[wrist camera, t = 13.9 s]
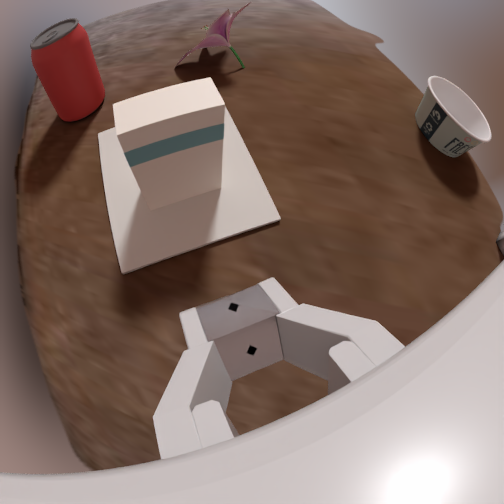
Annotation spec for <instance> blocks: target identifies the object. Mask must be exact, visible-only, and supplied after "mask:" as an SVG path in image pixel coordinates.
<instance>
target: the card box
mask: <svg viewBox="0 0 504 504" xmlns="http://www.w3.org/2000/svg"><path fill="white" fill-rule="evenodd" d="M113 110H114V119H115V127H116V134H117V137H118V140H119V142H120V145H121V147H122V149H123V152H124V155H125V157H126V160H127V162H128V164H129V167H130V168H131V170H132V173H133V175H134V177H135V179H136V181H137V184H138V186H139V188H140V190H141V192H142V195H143V197H144V199H145V201H146V203H147V205H148V207H149V209H150V211H152V210H155V209H157V208H160V207H163V206H166V205H169V204H172V203H175V202H178V201H181V200H184V199H187V198H190V197H194V196H197V195H200V194H203V193H206V192H209V191H213V190H216V189H219V188H221V185H222V158H223V139H224V115H225V103H224V101H223V99H222V97H221V96H220V94H219V92H218V90H217V88H216V86H215V84H214V83H213V81H212V79H211V77H209V78H204V79H199V80H194V81H190V82H186V83H182V84H177V85H174V86H170V87H166V88H162V89H159V90H155V91H152V92H148V93H145V94H142V95H139V96H135V97H132V98H129V99H126V100H124V101H121V102H118V103H115V104H113Z"/></svg>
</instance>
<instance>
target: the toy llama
mask: <svg viewBox="0 0 504 504" xmlns="http://www.w3.org/2000/svg"><path fill="white" fill-rule="evenodd" d="M496 243H497V244H498V246H499V248H500V250H501V252H502V254H503V256H504V231H502V232H500V234H499V236H498V238H497V241H496Z"/></svg>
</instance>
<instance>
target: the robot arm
mask: <svg viewBox="0 0 504 504" xmlns="http://www.w3.org/2000/svg"><path fill="white" fill-rule="evenodd" d="M196 309H197V310H196ZM179 316H180V320H181V324H182V328H183V331H184V335H185V339H186V342H187V346H188V350H186V351H184V352H183V354H182V356H181V358H180V360H179V362H178V364H177V367H176V369H175V371H174V373H173V375H172V377H171V379H170V381H169V384H168V386H167V388H166V390H165V392H164V394H163V396H162V399H161V401H160V403H159V405H158V407H157V409H156V411H155V414H154V416H153V420H154V426H155V431H156V436H157V441H158V446H159V451H160V456H161V460H156V461H152V462H147V463H142V464H137V465H132V466H126V467H120V468H114V469H107V470H99V471H90V472H80V473H65V474H14V473H2V472H0V504H504V260H503V261H502V262H501V263H500V264H499V265H498V266H497V267H496V269H495V270H494V271H493V272H492V273H491V274H490V275H489V276H488V277H487V278H486V279H485V280H484V281H483V282H482V283H481V284H480V285H479V286H478V287H477V288H476V289H475V290H474V291H472V292H471V293H470V294H469V295H468V296H467V297H466V298H465V299H464V300H463V301H462V302H461V303H459V304H458V305H457V306H456V307H455V308H454V309H453V310H451V311H450V312H449V313H448V314H447V315H446V316H444V317H443V318H442V319H441V320H440V321H438V322H437V323H436V324H435V325H433V326H432V327H431V328H430V329H428V330H427V331H426V332H425V333H423V334H422V335H421V336H419V337H418V338H417V339H415V340H414V341H413V342H411V343H410V344H409V345H407V346H406V347H405V346H404V345H403V344H401V343H400V342H399V341H398V340H397V339H396V338H395V337H394V336H393V335H392V334H390V333H389V332H388V331H387V330H386V329H385V328H384V327H383V326H382V325H380V324H379V323H378V322H377V321H374V320H370V319H365V318H361V317H357V316H352V315H348V314H344V313H340V312H335V311H331V310H327V309H323V308H319V307H315V306H311V305H307V304H301V305H298V304H297V303H296V302H295V301H294V300H293V298H292V297H291V296H290V295H289V294H288V293H287V292H286V291H285V289H284V288H283V287H282V286H281V285H280V284H279V283H278V282H277V281H276V279H275V278H270V279H267V280H265V281H263V282H260V283H258V284H257V285H254V286H252V287H249V288H247V289H244V290H242V291H239V292H237V293H234V294H231V295H229V296H225V297H222V298H220V299H217V300H214V301H211V302H208V303H205V304H202V305H200V306H197V307H196V308H195V307H194V308H191V309H188V310H186V311H183V312H180V314H179ZM283 359H284V360H285V361H287V362H289V363H291V364H293V365H295V366H297V367H300V368H302V369H304V370H306V371H308V372H310V373H312V374H315V375H317V376H319V377H321V378H323V379H326V380H328V396H326V397H324V398H322V399H320V400H318V401H316V402H314V403H312V404H310V405H308V406H306V407H304V408H302V409H300V410H298V411H296V412H294V413H292V414H290V415H288V416H285V417H283V418H281V419H279V420H277V421H274V422H272V423H270V424H267V425H265V426H263V427H260V428H258V429H255V430H253V431H250V432H248V433H245V434H242V435H240V436H239V434H238V432H237V431H236V429H235V428H234V426H233V424H232V423H231V421H230V419H229V418H228V416H227V414H226V409H227V404H228V400H229V395H230V390H231V385H232V381H233V380H236V379H238V378H240V377H243V376H245V375H247V374H249V373H252V372H254V371H256V370H259V369H261V368H264V367H266V366H269V365H271V364H274V363H276V362H278V361H281V360H283Z"/></svg>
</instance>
